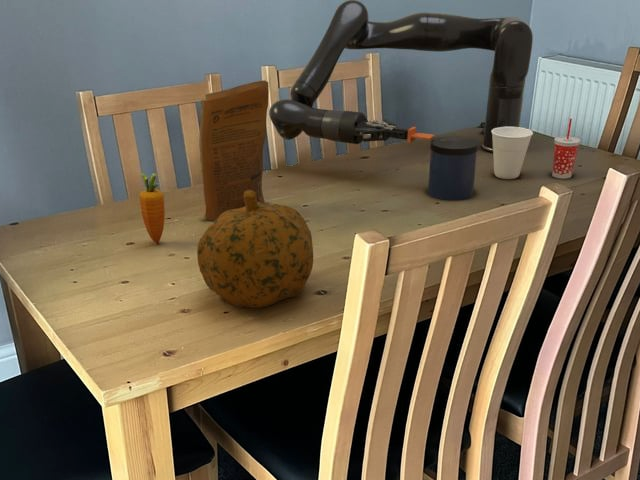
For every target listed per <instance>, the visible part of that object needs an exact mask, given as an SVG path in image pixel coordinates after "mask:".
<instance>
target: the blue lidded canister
mask: <svg viewBox="0 0 640 480" xmlns="http://www.w3.org/2000/svg"><path fill="white" fill-rule="evenodd" d="M429 147H430V158H429V174H428V184H427V185H428V186H427V187H428V189H427V194H428V195H429V196H431V197H432V198H435V199H438V200H443V201H444V200H445V201H460V200H467V199H470V198H471V197H473V195H474V189H475V188H474V187H475V179H476V169H477V160H478V151H479V148H480V142H479V140H477V139H474V138H471V137H468V136H460V135H445V136H444V135H443V136H439V137H434V138H432V139H430V146H429Z"/></svg>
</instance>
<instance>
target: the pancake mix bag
mask: <svg viewBox="0 0 640 480" xmlns="http://www.w3.org/2000/svg"><path fill="white" fill-rule="evenodd" d="M269 87H270V85H269V81H267V80H265V79H264V80H258V81H252V82H248V83H243V84H240V85H237V86H235V87H232V88H229V89H223V90H218V91H215V92H210V93H207V94H204V96H205V99H203V100H201V101H200V112H199V137H198V138H199V139H198V140H199V143H198V144H199V162H200V168H201V176H202V177H201V178H202V190H203V198H204V199H203V200H204V205H205V215H204V220H208V221H216V220H217V218H218V217H219V216H220V215H221V214H222V213H223V212H225V211H228V210H231V209H238V208H242V207H245V206H246V205H245V202H244V197H243V194H244V192H245V191H246V190H252V191H254V192H255V194H256V198H257V201H258V202H260V203H264V204H266V202H265V197H264V194H263V172H264V146H265V140H266V135H267V119H268V117H267V115H268V107H269V96H270V95H269V90H270V89H269Z"/></svg>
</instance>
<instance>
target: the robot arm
mask: <svg viewBox="0 0 640 480" xmlns="http://www.w3.org/2000/svg"><path fill="white" fill-rule="evenodd" d="M334 11H335V12H334V14H333V16H332V18H331V20H330V23H329V25H328V27H327V29H326V31H325V33H324V34H323V35H324V36H323V37H322V39H321V41H320V43H319V44H318V46H317V47H316V49H315V51H314V53H313V55H312V56H311V58H310V59H309V61H308V63H307V64H306V65H305V67H304V68H303V70H302V72H301V73H300V74H299V76H298V77H297V78H296V80H295V81H294V83H293V84H292V86H291V88H290V92H289V93H290V98H289V99H288V98H283V99H279V100H276V101H275V102H273V103H272V104H271V106H270V107H269V111H268V115H269V119H270V121H271V122H272V126H274V128H275V130H276V132H277V134H278V135H279V136H280V137H281V138H282V139H284V140H286V141H289V140H294V139H296V138H297V137H298V136H300V135H301V134H302V133H304V134H305V135H306V136H308V137H309V138H313V139H323V140H328V141H332V142H338V143H345V144H351V145H352V144H353V145H359V144H361V143H362V142H363V143H366V142H383V141H388V140H393V139H398V140H406V141H407V140H408V130H409V129H410V128H407V127H405V128H404V127H398V124H397V123H396V122H393V121H391V120H388V119H386V118H385V119H382V121H379V120H377V119H370V120H369V121H368V119H367V117H366V114H365V113H364V112H362V111H354V110H353V111H352V110H343V109H325V108H315V107H314V105H315V102H316V101H317V100H318V98H319V97H320V95H321V94H322V93H323V91H324V89H325V87H326V86H327V84H328V82H329V81H330V79H331V76H332V75H333V72H334V69H335V67H336V66H337V63H338V61H339V60H340V57H341V55H342V54H343V52H344V50H345V49H346V50H373V49H374V50H377V49H390V50H391V49H392V50H411V51H420V52H435V53H436V52H437V53H439V52H443V53H444V52H453V51H459V50H460V51H461V50H466V49H476V50H477V49H479V50H486V51H493V52H494V55H493V63H492V68H491V69H492V70H491V71H490V74H489V84H488V94H487V95H488V96H487V104H486V111H485V112H486V114H485V121H482V122H480V123H479V127H483V126H484V128H483V129H481V133H482V134H483V140H482V146H481V148H482V150H484V151H487V152H490V153H493V139H492V132H491V131H492V130H493V129H495V128H498V127H521V126H520V125H521V120H522V119H521V118H522V112H523V111H522V110H523V103H524V95H525V87H526V80H527V76H528V73H529V69H530V65H531V56H532V50H533V44H534V43H533V42H534V40H533V39H534V37H533V36H534V34H533V30H532V28H531V27H530V25H529V23H528V24H527V22H526V21H524V19H521V18H519V17H517V16H509V17H508V16H507V17H495V18H493V17H492V18H478V17H477V18H476V17H468V16H463V15H458V14H457V15H456V14H449V13H442V12H441V13H438V12H416V13H412V14H409V15H406V16H403V17H400V18H397V19H394V20H391V21H370V20H369V19H370V17H369V11H368V8H367V7H366V5H365V4H364V3H362V2H361V1H359V0H346V1H343V2H342V3H340V4H339V5H338V7H337V8H336V9H335V10H334Z"/></svg>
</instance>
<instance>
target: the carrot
mask: <svg viewBox="0 0 640 480" xmlns="http://www.w3.org/2000/svg"><path fill="white" fill-rule="evenodd" d="M140 175H141V178H142V179H143V181H144V186H145V188H146V189H144V190H142V191H141V193H140V194H139V203H140V211H141V216H142V220H143V223H144V226H145V229H146V232H147V233H148V235H149V237H150V239H151V240H152V242H153V243H155V244H156V245H158V244H159V243H160V240H161V239H162V236H163V233H164V228H165V219H166V218H165V216H166V211H165V210H166V209H165V196H164V192H163V191H162V190H160V189H157V187H158V186H159V183H158V182H155V181H156V178H157V176H158V174H156V173H152V174H151V176H150V179H149V177H148V176H146V175H145V173H142V174H140Z"/></svg>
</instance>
